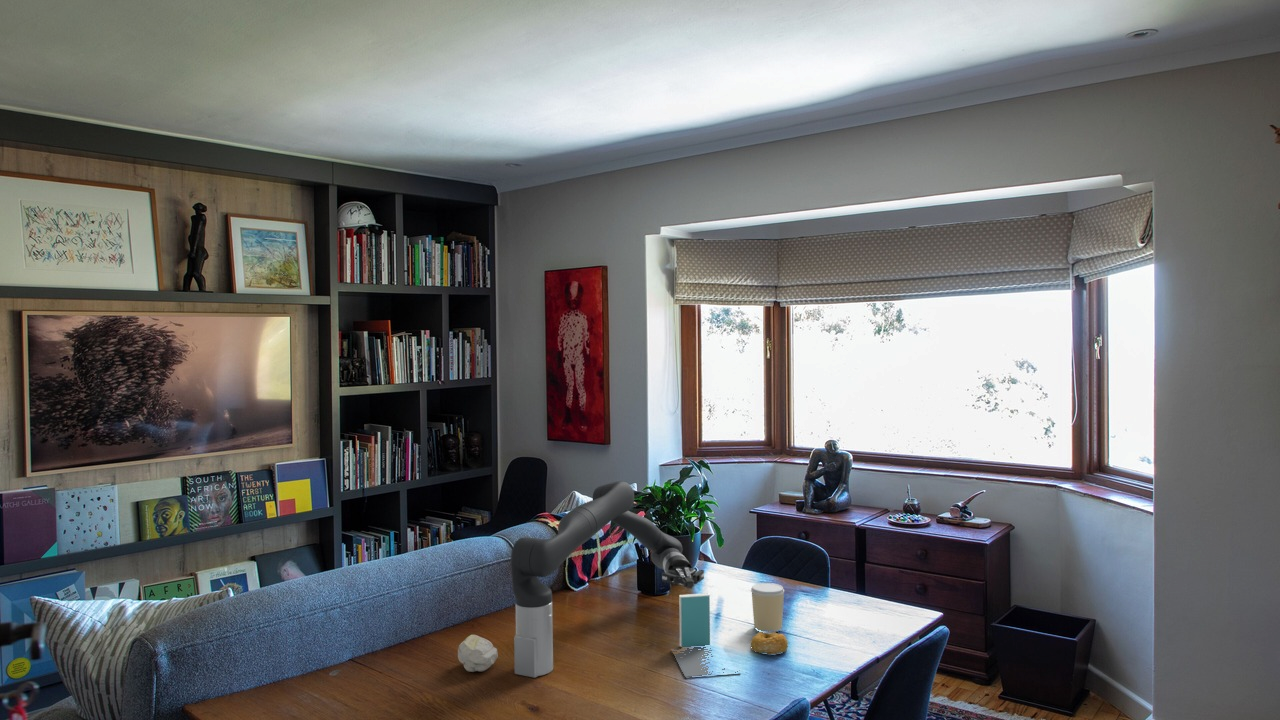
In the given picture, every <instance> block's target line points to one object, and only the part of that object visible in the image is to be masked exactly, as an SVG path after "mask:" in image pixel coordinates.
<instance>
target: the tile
mask: <svg viewBox="0 0 1280 720" xmlns="http://www.w3.org/2000/svg"><path fill="white" fill-rule="evenodd" d="M710 597H711V595H710V594H709V593H708V592H707V593H691V594H688V593H687V594H679V597H678V598H679V599H678V601H679V602H678V605H679V607H678V609H679V610H678V611H679V615H678V618H679V647H680V646H681V647H691V646H705V645H710V646H711V610H710V609H711V608H710V607H711V604H710V602H711V600H710Z"/></svg>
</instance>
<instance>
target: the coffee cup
mask: <svg viewBox="0 0 1280 720" xmlns="http://www.w3.org/2000/svg"><path fill="white" fill-rule="evenodd" d="M750 591H751V598H752V599H751V601H752V613H753V614H752V615H753V625H754V629H755V628H757V629H758V630H761V631H768V632H769V631H778V630H780V629H781V628H782V629H783V617H784V616H783V613H784V595H785V589H784V587H783V585H781V584H779V583H772V582H760V583H759V582H758V583H755V584H753V585H752V587H751V589H750ZM782 629H781V630H782Z"/></svg>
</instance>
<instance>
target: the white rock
mask: <svg viewBox="0 0 1280 720" xmlns="http://www.w3.org/2000/svg"><path fill="white" fill-rule="evenodd" d="M498 657H499V656H498V648H496V647H494V645H493V643H492V642H491V641H490V640H488V639H486V638H484V637H482V636H479V635H476V634H470V635H468V636H467V637H466V638H465V639H464V640H463V641H462V642H461V643H460V644H459V645H458V649H457V659H458V661H459V662H460V663H461V664H462V665H463V667H464V669H465V671H467V672H472V673H474V672H485V671H486V670H488V669H489V668H490V667H492V665H494V663H495V662H496V661H497V659H498Z"/></svg>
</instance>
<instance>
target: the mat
mask: <svg viewBox="0 0 1280 720" xmlns="http://www.w3.org/2000/svg"><path fill="white" fill-rule="evenodd" d="M704 648H706V647H703V648H701V647H694V648H693V649H689V648H687V650H685V651H680V652H684V653H678V654H674V655H676V656H675V658H676V660H677V662H678V664H679V666H680V668H681V669H680V668H679V669H680V671H681V670H682V671H681V673H682V672H683V673H682V675H683V674H684V675H683V677H684V676H685V677H692V676H702V675H707V674H708V671H707V670H708V668H709V667H708V666H706V667H708V668H706V667H703V666H705V665H706V664H708V663H710V662H708V663H705V664H701V663H702V662H705V661H706V660H704V661H701V660H702V659H706V658H707V657H705V656H708V655H709V654H708V653H711V652H709V651H712V650H709V651H704V650H708V649H704ZM673 649H674V650H677V649H678V648H673ZM698 649H701V650H698ZM710 649H711V648H710ZM690 650H692V651H690ZM672 652H677V651H672ZM672 652H671V653H672ZM689 652H690V653H689ZM705 652H708V653H705ZM684 654H686V655H684ZM704 654H707V655H704ZM702 655H703V656H702ZM711 655H712V654H711ZM680 657H683V658H680ZM701 657H702V658H701ZM711 657H713V656H711ZM675 658H674V659H675ZM698 658H699V659H698ZM708 658H709V657H708ZM676 660H675V661H676ZM707 660H709V659H707ZM677 662H676V663H677ZM678 664H677V665H678ZM700 664H701V665H700ZM679 666H678V667H679ZM702 667H703V668H702ZM704 668H705V669H704ZM701 669H702V670H701ZM722 670H725V668H724V669H722ZM705 671H706V672H705ZM712 672H713V671H712ZM737 672H738V671H737ZM709 673H710V672H709ZM723 673H724V672H723ZM735 673H736V672H735ZM711 674H712V673H711ZM711 674H708V675H711ZM685 677H684V678H685Z"/></svg>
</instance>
